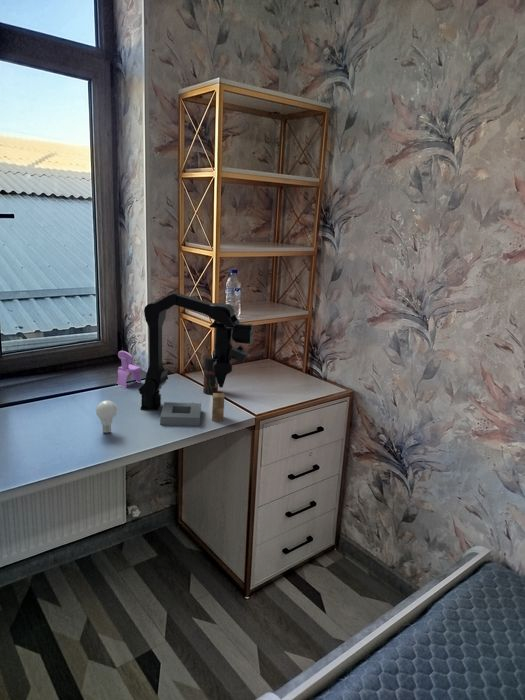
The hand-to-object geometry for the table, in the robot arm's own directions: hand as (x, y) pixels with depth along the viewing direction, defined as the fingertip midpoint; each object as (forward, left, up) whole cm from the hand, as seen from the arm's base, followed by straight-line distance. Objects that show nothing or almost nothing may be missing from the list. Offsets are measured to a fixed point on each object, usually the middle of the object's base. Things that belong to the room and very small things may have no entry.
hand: (220, 382), depth 176 cm
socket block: (-13, -2, -13) cm, 19 cm away
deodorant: (-3, +25, -13) cm, 29 cm away
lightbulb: (-36, -16, -13) cm, 42 cm away
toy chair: (-37, +31, -13) cm, 51 cm away
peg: (0, -2, -13) cm, 13 cm away
